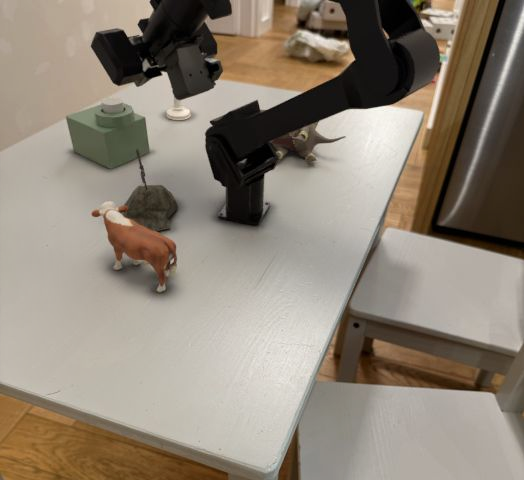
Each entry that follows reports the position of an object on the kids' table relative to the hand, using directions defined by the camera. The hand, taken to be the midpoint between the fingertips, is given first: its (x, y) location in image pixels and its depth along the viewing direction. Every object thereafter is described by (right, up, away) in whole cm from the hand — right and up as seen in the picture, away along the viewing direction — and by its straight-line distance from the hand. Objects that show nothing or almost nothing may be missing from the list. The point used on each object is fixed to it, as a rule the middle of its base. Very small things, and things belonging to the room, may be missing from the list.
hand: (136, 83), depth 76 cm
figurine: (+24, -2, +18) cm, 31 cm away
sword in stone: (+2, -20, -1) cm, 21 cm away
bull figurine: (+3, -30, -10) cm, 32 cm away
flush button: (-6, -1, +7) cm, 9 cm away
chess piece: (+2, +7, +26) cm, 28 cm away
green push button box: (-8, -5, +14) cm, 17 cm away
